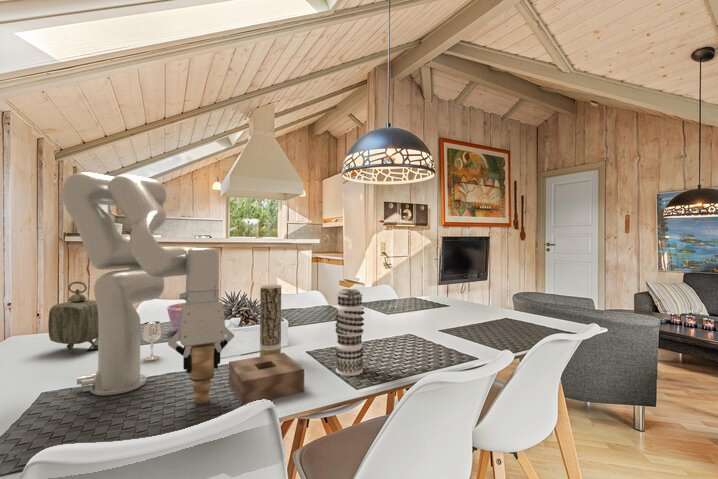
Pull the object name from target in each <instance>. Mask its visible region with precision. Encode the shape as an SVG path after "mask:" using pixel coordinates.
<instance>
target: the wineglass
mask: <svg viewBox="0 0 718 479" xmlns="http://www.w3.org/2000/svg"><path fill="white" fill-rule="evenodd" d="M162 333H163V330H162V325H161V322H160V321H157V320H156V321H155V320H153V321H147V322H144V323H143V326H142V331H141V337H142V339H143V340H144V341H145V342H148V343H150V344H149V345H150V356H147V357H144V358H143V360H144V361H154V360H158V359H160V356H159V355H154V353H153V352H154V350H153V349H154V348H153V347H154V342H157V341H158V340H159V339H160V338H161V337H162Z"/></svg>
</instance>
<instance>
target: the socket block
mask: <svg viewBox="0 0 718 479" xmlns="http://www.w3.org/2000/svg"><path fill="white" fill-rule="evenodd" d="M228 385H229V386H230V388H231V387H232V388H231V389H233V390H232V391H233V393H234V392H235V393H234V395H235V394H236V395H235V397H236V398H237V397H238V398H237V400H238V399H239V400H238V402H239V403H240V404H241V406H242V405H244V404H247V403H249V402H253V401H256V400H262V399H268V400H267V401H269V400H275V399H277V398H283V397H287V396H292V395H295V394H301V393H304V392H305V368H304V367H302V366H301V365H300V364H299V363H297V362H296V360H294V359H292V358H291V357H290V356H289V355H287V354H286V353H285V352H281V353H278V354H272V355H266V356H260V355H259V356H256V357H250V358H243V359H237V360H231V361H228Z"/></svg>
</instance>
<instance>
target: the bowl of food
mask: <svg viewBox="0 0 718 479" xmlns="http://www.w3.org/2000/svg"><path fill="white" fill-rule="evenodd" d="M183 303H184V302H180V303H174V304H171V305H169V306H166V309H167V314H168V317H169V321H170V325H171V327H172V328H173V330H174V331H177V332H178V331H179V330H180V318H181V312H182V306H183Z"/></svg>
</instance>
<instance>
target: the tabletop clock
mask: <svg viewBox="0 0 718 479" xmlns="http://www.w3.org/2000/svg"><path fill="white" fill-rule="evenodd" d="M74 284H79V285H82V286H84V290H81V291H80V289H79V288H78V289H75V291H74V290H72V289H71V286H72V285H74ZM87 289H88V288H87V284H85V283H84V282H82V281H72V282H71V283H70V284H68V291H69V292H70V293H73V294H72V295H71V296H70V297H69V298H68V299H67V302H61V303H56V304H54V305H53V306H51V308H50V309H49V312H48V325H47V326H48V337H49V340H50V341H52V342H54V343H58V344H62V345H63V344H65V345H66V348H67V349H68V351H67V352H68V353H69V354H73V353H75V350H74V346H75V345H80V344H84V343H86V342H88V343H90V344H91V345H92V346H93V349H94V350H98V344H96V343H95V342H94V341H93V340H96V339H98V336H99V332H98V309H97V303H96V299H87V296H85V295H84V294H83V293H85V292H86V291H87Z"/></svg>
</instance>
